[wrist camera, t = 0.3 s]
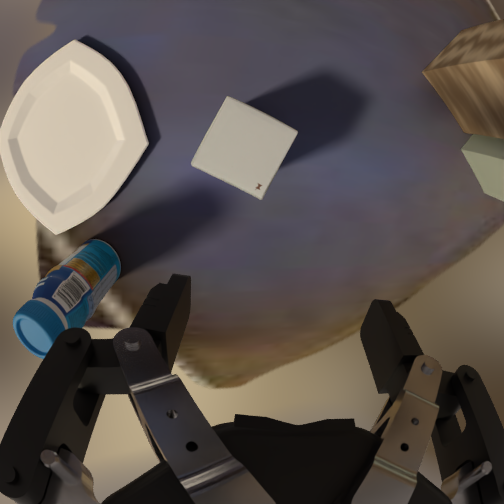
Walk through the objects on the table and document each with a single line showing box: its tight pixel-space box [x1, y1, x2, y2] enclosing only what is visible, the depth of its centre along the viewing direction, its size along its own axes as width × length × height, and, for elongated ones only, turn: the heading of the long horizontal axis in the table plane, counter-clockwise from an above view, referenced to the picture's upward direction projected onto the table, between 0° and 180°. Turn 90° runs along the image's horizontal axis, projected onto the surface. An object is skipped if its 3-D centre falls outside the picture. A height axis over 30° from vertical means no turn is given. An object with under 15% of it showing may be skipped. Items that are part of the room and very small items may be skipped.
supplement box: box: [191, 96, 298, 199], centre depth 30 cm, size 7×7×13 cm
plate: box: [0, 40, 149, 235], centre depth 34 cm, size 27×27×2 cm
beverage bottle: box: [13, 239, 121, 359], centre depth 33 cm, size 8×8×20 cm
